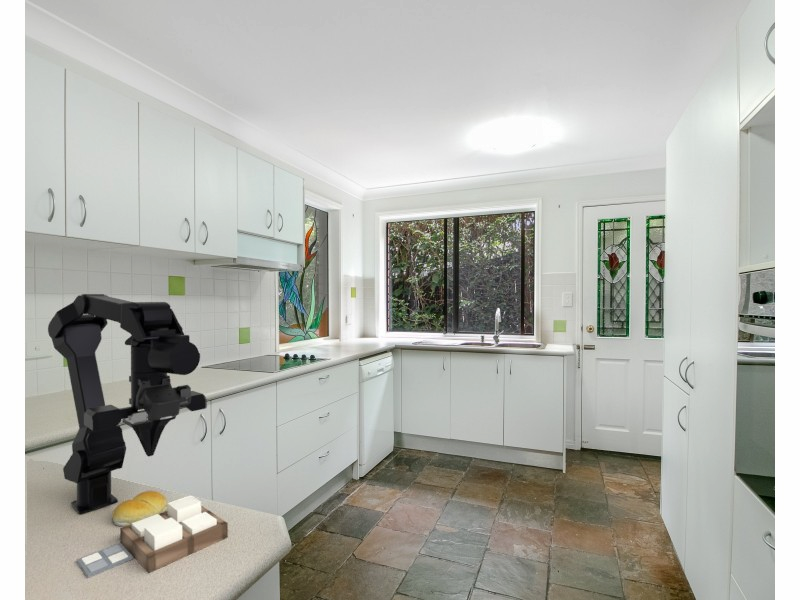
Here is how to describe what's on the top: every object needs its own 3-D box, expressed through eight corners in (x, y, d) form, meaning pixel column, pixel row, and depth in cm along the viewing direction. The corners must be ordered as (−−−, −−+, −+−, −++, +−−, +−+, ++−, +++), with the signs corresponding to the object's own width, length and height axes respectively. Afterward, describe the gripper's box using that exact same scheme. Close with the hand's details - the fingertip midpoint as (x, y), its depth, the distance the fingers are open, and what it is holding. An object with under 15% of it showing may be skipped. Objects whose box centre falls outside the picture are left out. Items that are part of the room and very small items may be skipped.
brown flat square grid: (120, 542, 73) (120, 527, 73) (194, 513, 83) (194, 500, 83) (148, 573, 65) (148, 556, 65) (227, 537, 75) (227, 523, 75)
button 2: (144, 545, 70) (144, 527, 69) (171, 534, 73) (171, 517, 73) (154, 556, 67) (154, 536, 67) (182, 544, 70) (182, 525, 70)
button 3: (167, 519, 78) (167, 503, 78) (191, 510, 81) (190, 495, 81) (177, 527, 75) (177, 510, 75) (201, 518, 78) (201, 501, 78)
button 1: (131, 540, 73) (131, 523, 73) (158, 530, 76) (157, 513, 76) (140, 550, 71) (140, 532, 71) (167, 539, 74) (167, 521, 74)
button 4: (181, 538, 74) (181, 521, 74) (205, 528, 77) (205, 511, 77) (192, 547, 71) (192, 529, 71) (216, 536, 74) (216, 519, 74)
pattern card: (76, 561, 68) (76, 558, 68) (120, 545, 72) (120, 542, 72) (87, 577, 64) (87, 574, 64) (132, 559, 68) (132, 555, 68)
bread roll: (103, 524, 80) (102, 502, 79) (147, 502, 88) (147, 483, 88) (133, 533, 76) (133, 511, 76) (176, 510, 85) (176, 490, 85)
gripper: (103, 384, 66) (104, 485, 66) (220, 368, 80) (220, 451, 80) (82, 375, 73) (83, 467, 73) (193, 362, 87) (194, 439, 87)
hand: (149, 455), depth 78 cm, fingers closed
